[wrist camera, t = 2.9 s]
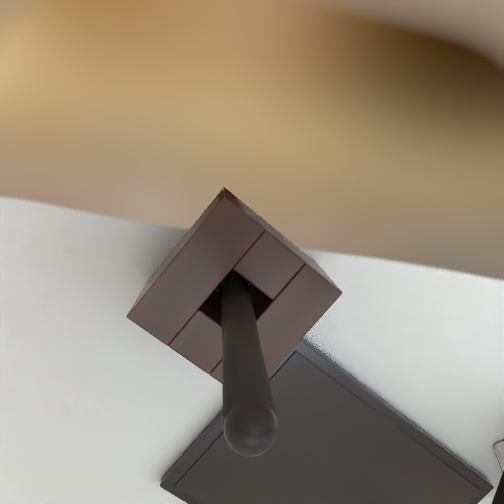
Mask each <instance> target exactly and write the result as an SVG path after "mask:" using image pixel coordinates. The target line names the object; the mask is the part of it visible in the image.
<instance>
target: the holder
mask: <svg viewBox="0 0 504 504" xmlns="http://www.w3.org/2000/svg"><path fill="white" fill-rule="evenodd" d="M232 268H233V270H234V271H236V272H237V273H238V274H240V275H241V276H242V277H243V278H245V279H246V280H247V281H249V282H250V283H251V286H250V287H249V291H250V295H251V300H252V305H253V309H254V314H255V318H256V323H257V328H258V332H259V337H260V341H261V346H262V351H263V355H264V360H265V364H266V369H267V374H268V375H269V374H270V373H271V372H272V371H273V370H274V369H275V368H276V367H277V365H278V364H279V363H280V362H281V361H282V360H283V359H284V358H285V356H286V355H287V354H288V353H289V352H290V351H291V350H292V349H293V348H294V346H295V345H296V344H297V343H298V342H299V341H300V340H301V339H302V338H303V336H304V335H305V334H306V333H307V332H308V331H309V330H310V329H311V328H312V326H313V325H314V324H315V323H316V322H317V321H318V320H319V319H320V318H321V316H322V315H323V314H324V313H325V312H326V311H327V310H328V309H329V308H330V306H331V305H332V304H333V303H334V302H335V301H336V300H337V299H338V297H339V296H340V295H341V294H342V291H341V290H340V289H339V288H338V287H337V286H336V285H335V283H334V282H333V281H332V280H331V279H330V278H329V277H328V275H327V274H326V273H325V272H324V271H323V270H322V268H321V267H320V266H319V265H318V264H317V263H316V262H315V261H313V260H312V259H311V258H310V257H308V256H307V255H306V254H305V253H304V252H302V251H301V250H300V249H299V248H298V247H296V246H295V245H294V244H293V243H291V242H290V241H289V240H288V239H287V238H285V237H284V236H283V235H282V234H280V233H279V232H278V231H277V230H276V229H274V228H273V227H272V226H271V225H269V224H268V223H267V222H266V221H265V220H263V219H262V218H261V217H260V216H259V215H256V213H255V212H254V211H253V210H251V209H250V208H249V207H248V206H246V205H245V204H244V203H243V202H241V201H240V200H239V199H238V198H237V197H236V196H234V195H233V194H232V193H231V192H229V191H228V190H227V189H226V188H223V189H222V190H221V192H220V193H219V194H218V195H217V196H216V198H215V199H214V200H213V201H212V203H211V204H210V205H209V206H208V208H207V209H206V210H205V211H204V213H203V214H202V215H201V216H200V218H199V219H198V220H197V221H196V222H195V224H194V225H193V226H192V227H191V229H190V230H189V231H188V232H187V234H186V235H185V236H184V237H183V239H182V240H181V241H180V242H179V244H178V245H177V246H176V247H175V249H174V250H173V251H172V252H171V253H170V255H169V256H168V257H167V258H166V260H165V261H164V262H163V263H162V265H161V266H160V267H159V268H158V270H157V271H156V272H155V273H154V275H153V276H152V277H151V278H150V280H149V281H148V282H147V283H146V285H145V287H144V288H143V290H142V292H141V293H140V295H139V297H138V298H137V300H136V302H135V303H134V305H133V307H132V308H131V310H130V311H129V313H128V315H127V318H129V319H130V320H131V321H133V322H134V323H136V324H137V325H139V326H140V327H141V328H143V329H144V330H146V331H147V332H149V333H150V334H151V335H153V336H154V337H156V338H157V339H159V340H160V341H161V342H163V343H164V344H166V345H168V346H169V347H170V348H172V349H173V350H175V351H176V352H177V353H179V354H180V355H182V356H183V357H185V358H186V359H187V360H189V361H190V362H192V363H193V364H195V365H196V366H197V367H199V368H200V369H202V370H203V371H205V372H206V373H208V374H210V375H211V376H212V377H213V378H215V379H216V380H218V381H219V382H221V383H222V384H223V369H222V301H221V290H220V289H218V288H217V286H218V285H219V284H220V283H221V281H222V280H223V279H224V278H225V277H226V275H227V274H228V273H229V272H230V271H231V269H232Z"/></svg>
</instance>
